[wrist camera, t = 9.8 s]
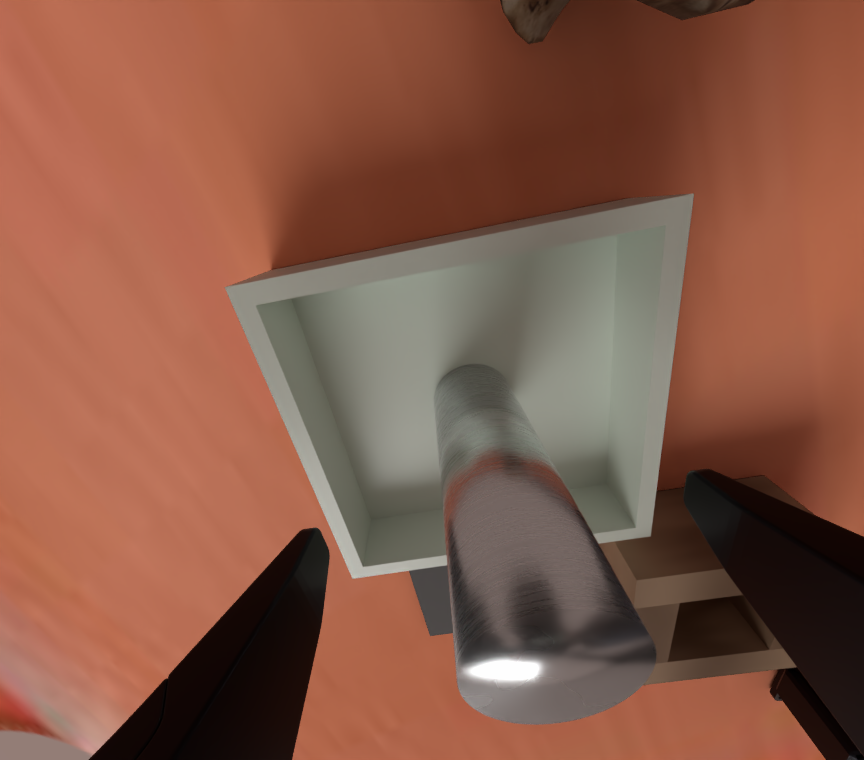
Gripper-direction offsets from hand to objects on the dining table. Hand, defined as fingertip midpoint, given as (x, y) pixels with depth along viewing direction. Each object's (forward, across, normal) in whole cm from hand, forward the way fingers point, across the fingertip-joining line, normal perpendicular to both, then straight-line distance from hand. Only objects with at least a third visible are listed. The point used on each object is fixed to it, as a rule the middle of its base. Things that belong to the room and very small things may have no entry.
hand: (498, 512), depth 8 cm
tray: (+6, 0, 0) cm, 6 cm away
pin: (+6, 0, 0) cm, 6 cm away
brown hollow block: (+6, -9, +11) cm, 16 cm away
